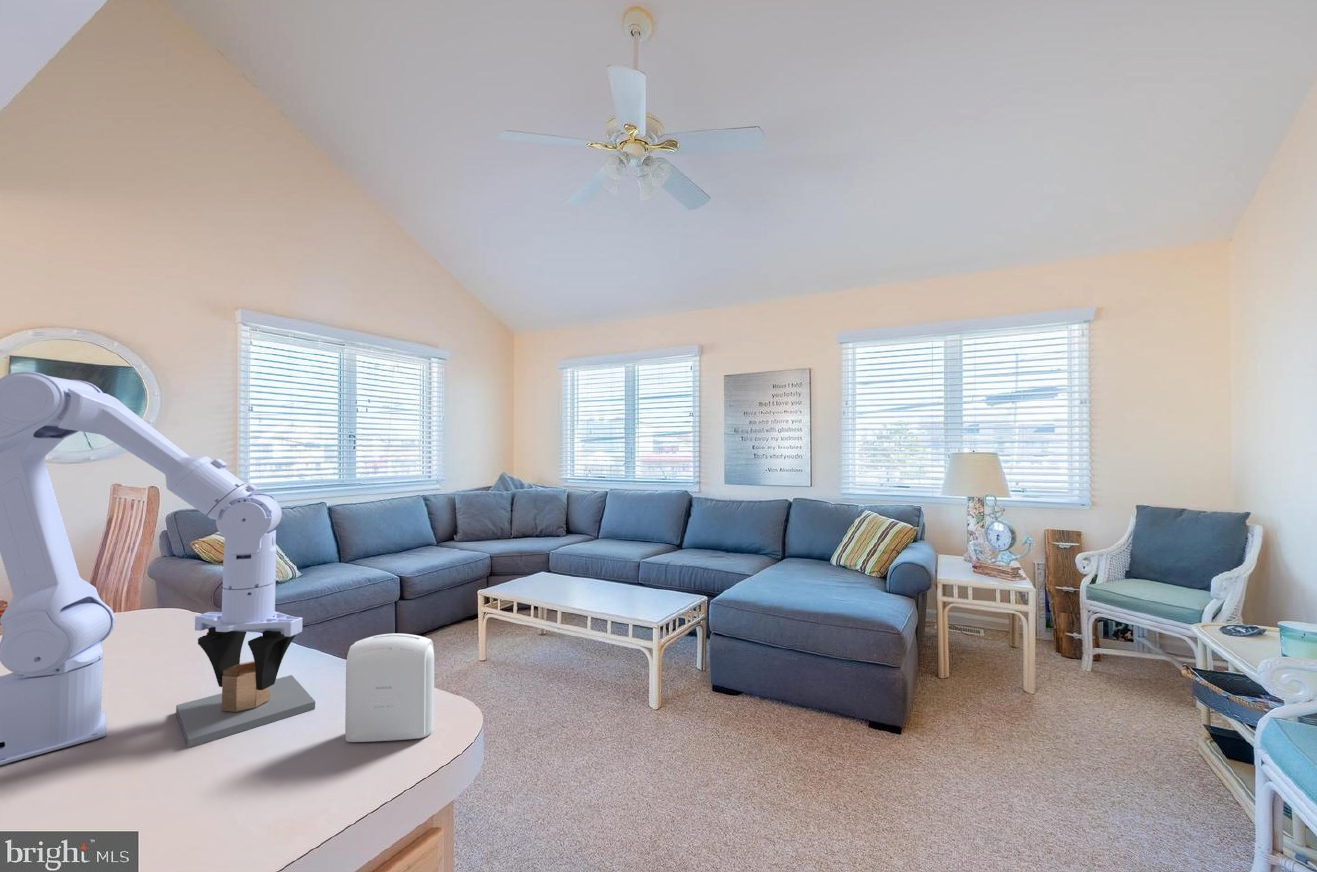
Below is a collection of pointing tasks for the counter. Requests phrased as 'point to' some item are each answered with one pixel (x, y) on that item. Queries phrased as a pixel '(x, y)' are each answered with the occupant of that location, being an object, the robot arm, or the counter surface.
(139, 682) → the counter surface
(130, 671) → the counter surface
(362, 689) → the photo printer
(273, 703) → the plate
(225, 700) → the octagonal cardboard bin
